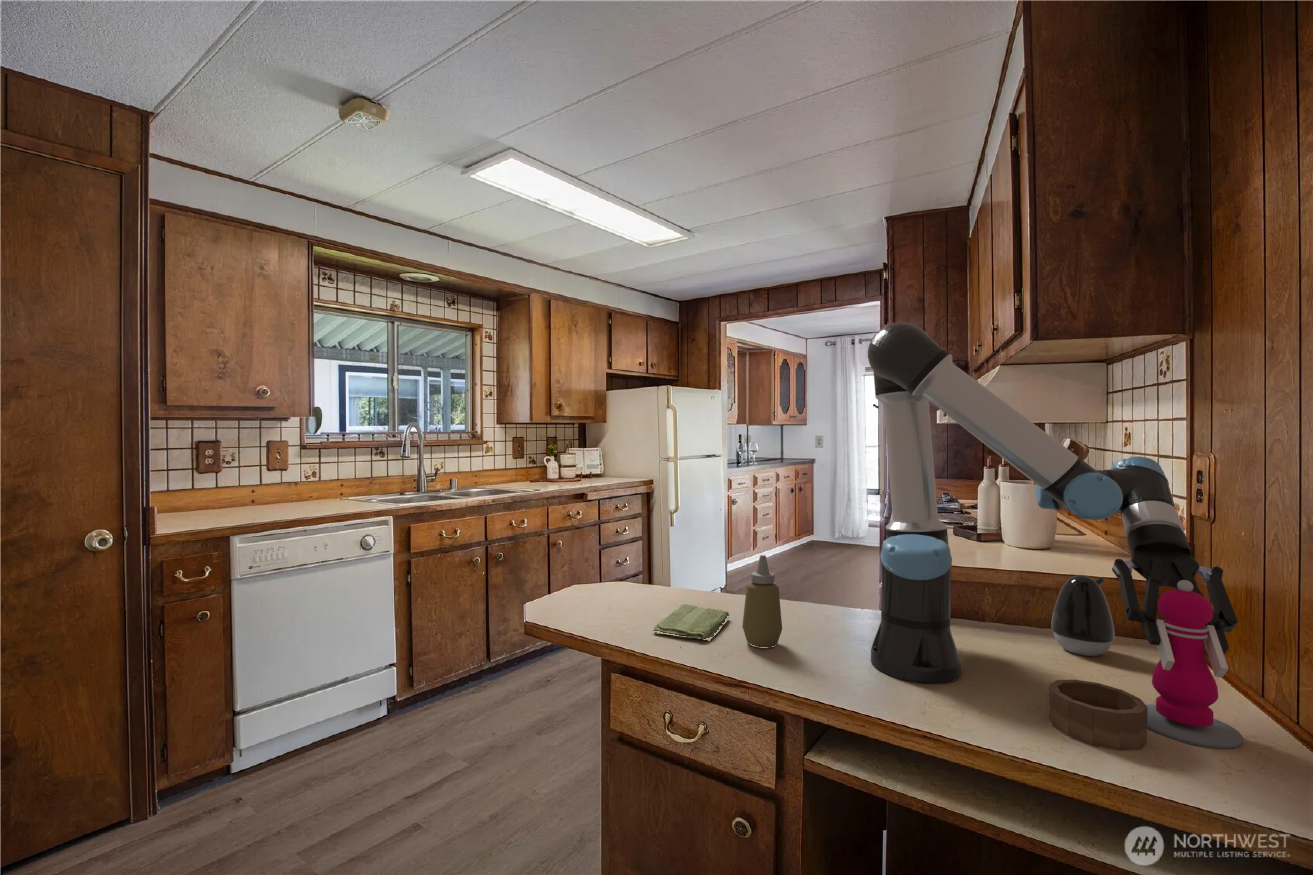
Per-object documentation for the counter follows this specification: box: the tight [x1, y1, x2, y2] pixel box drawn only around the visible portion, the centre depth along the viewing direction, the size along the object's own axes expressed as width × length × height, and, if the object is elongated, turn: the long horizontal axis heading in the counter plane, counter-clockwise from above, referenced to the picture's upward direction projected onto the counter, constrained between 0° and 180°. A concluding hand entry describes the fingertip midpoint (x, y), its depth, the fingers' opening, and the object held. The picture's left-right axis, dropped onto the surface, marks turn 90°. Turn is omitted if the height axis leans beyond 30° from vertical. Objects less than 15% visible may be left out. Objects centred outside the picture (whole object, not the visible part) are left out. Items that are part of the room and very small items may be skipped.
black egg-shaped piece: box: [1050, 574, 1115, 657], centre depth 116 cm, size 10×10×15 cm
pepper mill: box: [1151, 580, 1219, 727], centre depth 85 cm, size 7×7×20 cm
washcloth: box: [652, 603, 730, 639], centre depth 129 cm, size 13×18×3 cm
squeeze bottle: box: [742, 554, 783, 647], centre depth 118 cm, size 8×8×18 cm
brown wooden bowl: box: [1048, 679, 1148, 751], centre depth 84 cm, size 11×11×5 cm
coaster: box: [1145, 704, 1244, 750], centre depth 85 cm, size 12×12×1 cm
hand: (1194, 668), depth 82 cm, fingers closed on pepper mill, 5 cm apart
